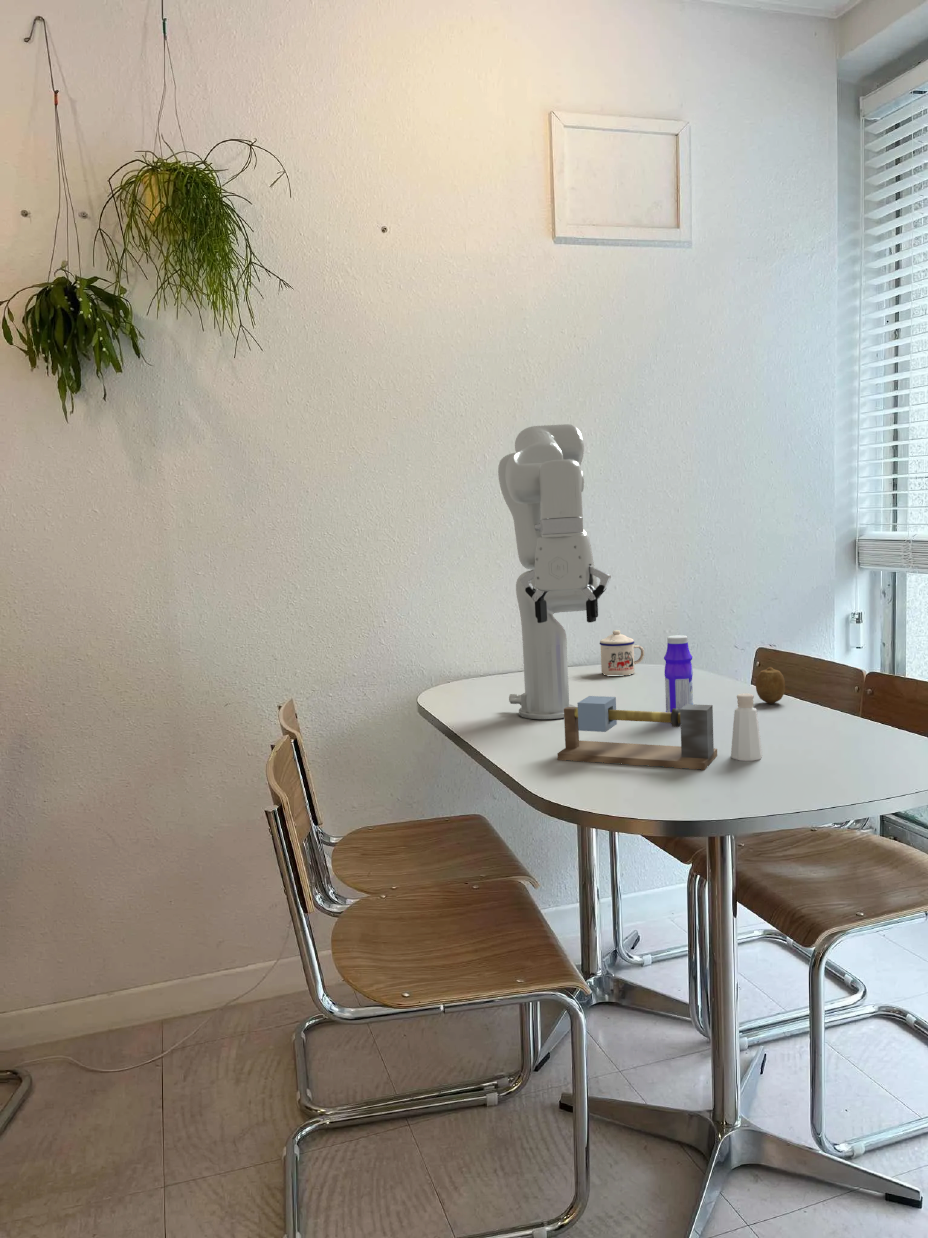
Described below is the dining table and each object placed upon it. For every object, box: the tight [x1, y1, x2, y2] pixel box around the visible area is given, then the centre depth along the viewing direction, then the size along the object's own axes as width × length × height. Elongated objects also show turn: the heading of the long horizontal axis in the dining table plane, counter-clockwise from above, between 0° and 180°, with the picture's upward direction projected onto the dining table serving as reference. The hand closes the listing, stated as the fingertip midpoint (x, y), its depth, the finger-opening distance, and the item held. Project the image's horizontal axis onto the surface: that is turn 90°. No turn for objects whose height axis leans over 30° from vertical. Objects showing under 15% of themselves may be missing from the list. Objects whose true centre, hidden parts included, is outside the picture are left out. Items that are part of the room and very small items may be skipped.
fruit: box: [755, 666, 786, 705], centre depth 211 cm, size 6×6×8 cm
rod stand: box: [556, 703, 718, 771], centre depth 172 cm, size 26×10×10 cm, turn 64°
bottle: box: [663, 634, 694, 712], centre depth 199 cm, size 7×6×17 cm
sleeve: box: [577, 695, 618, 733], centre depth 174 cm, size 5×6×5 cm
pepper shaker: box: [730, 692, 763, 762], centre depth 168 cm, size 5×5×11 cm
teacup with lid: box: [599, 629, 645, 675], centre depth 258 cm, size 12×9×12 cm
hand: (566, 621), depth 179 cm, fingers open, 9 cm apart
